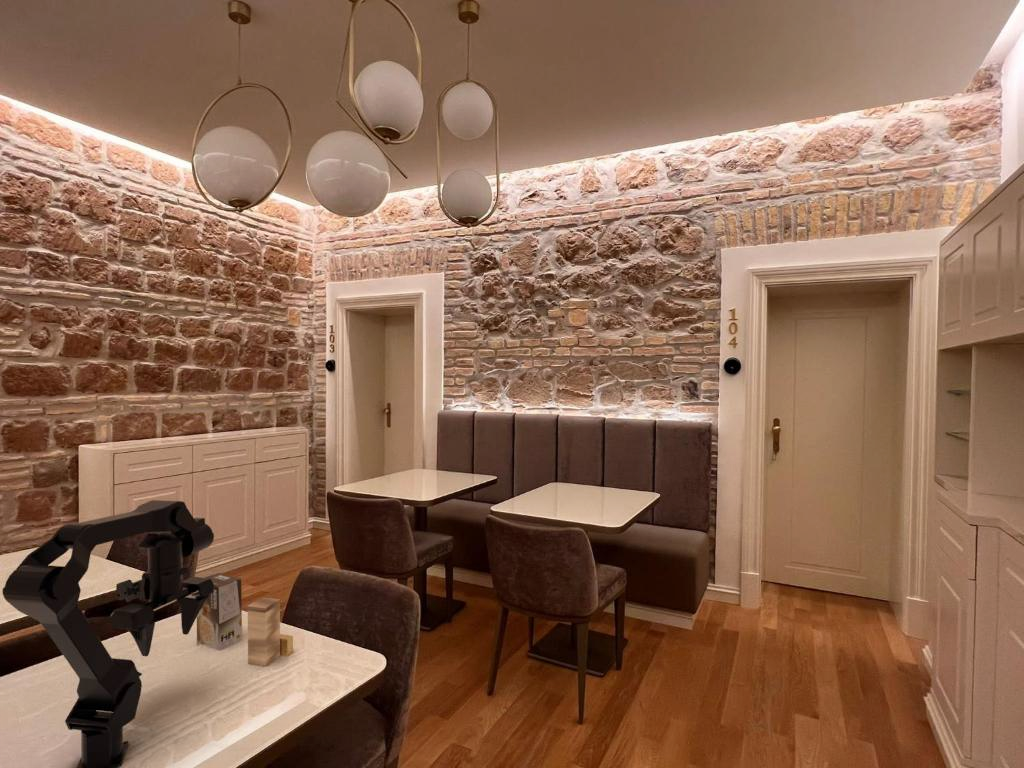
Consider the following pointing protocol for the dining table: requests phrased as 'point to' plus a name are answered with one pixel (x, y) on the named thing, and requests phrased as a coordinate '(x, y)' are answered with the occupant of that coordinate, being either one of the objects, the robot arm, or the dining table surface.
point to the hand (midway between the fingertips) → (166, 644)
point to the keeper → (263, 631)
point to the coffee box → (221, 614)
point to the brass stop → (286, 644)
